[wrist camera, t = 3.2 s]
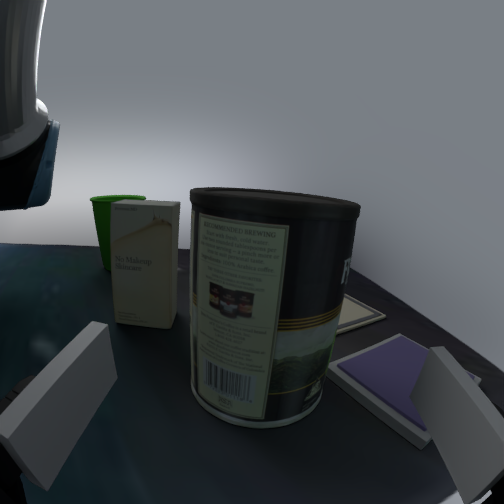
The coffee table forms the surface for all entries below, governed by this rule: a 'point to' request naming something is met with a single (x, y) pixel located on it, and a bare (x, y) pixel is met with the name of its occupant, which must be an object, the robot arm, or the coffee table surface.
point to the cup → (106, 222)
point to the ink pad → (387, 383)
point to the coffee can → (265, 300)
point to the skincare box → (144, 261)
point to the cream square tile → (356, 315)
